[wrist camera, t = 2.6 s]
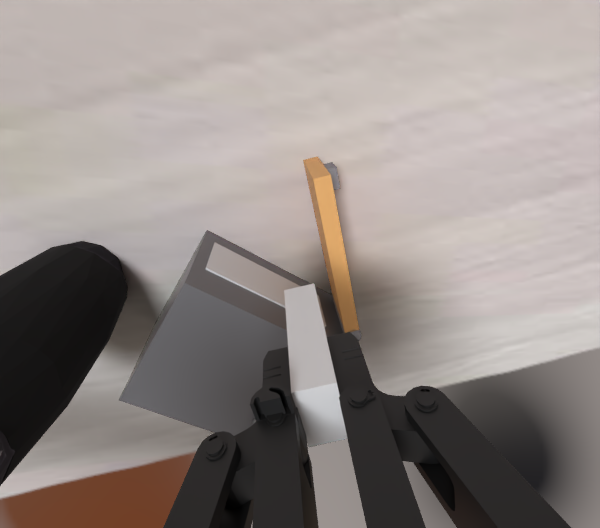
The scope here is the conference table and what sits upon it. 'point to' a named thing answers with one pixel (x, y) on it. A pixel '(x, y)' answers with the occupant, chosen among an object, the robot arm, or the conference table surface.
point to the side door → (332, 240)
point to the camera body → (217, 338)
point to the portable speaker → (51, 337)
